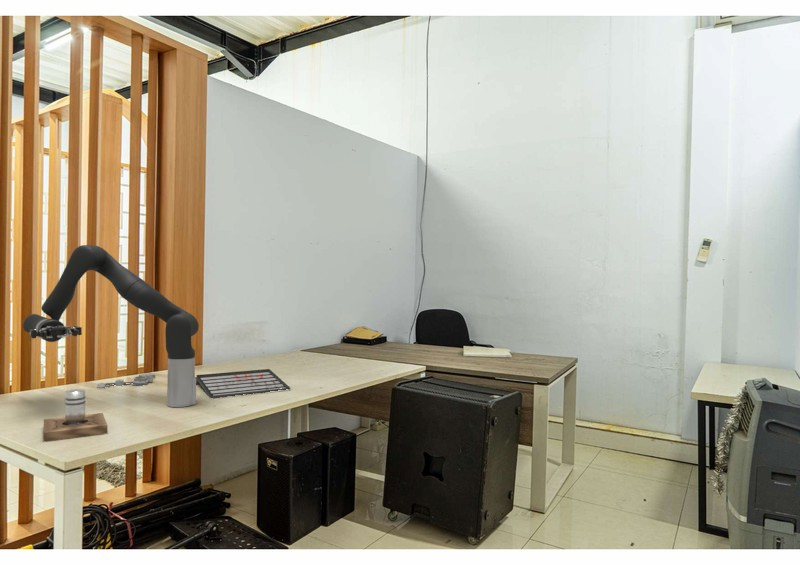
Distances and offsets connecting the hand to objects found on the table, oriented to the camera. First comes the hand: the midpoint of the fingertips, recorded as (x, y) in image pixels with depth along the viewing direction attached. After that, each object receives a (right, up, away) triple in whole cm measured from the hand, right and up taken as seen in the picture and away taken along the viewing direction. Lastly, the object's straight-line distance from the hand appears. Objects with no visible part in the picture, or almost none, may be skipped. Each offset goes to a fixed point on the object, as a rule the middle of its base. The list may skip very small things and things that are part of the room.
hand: (60, 333), depth 175 cm
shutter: (+42, -28, +55) cm, 75 cm away
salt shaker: (+11, -28, -10) cm, 32 cm away
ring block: (+11, -28, -11) cm, 32 cm away
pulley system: (-5, -27, +56) cm, 63 cm away
